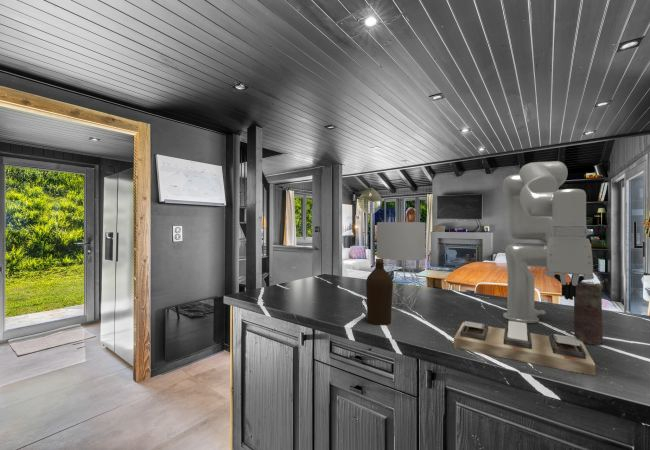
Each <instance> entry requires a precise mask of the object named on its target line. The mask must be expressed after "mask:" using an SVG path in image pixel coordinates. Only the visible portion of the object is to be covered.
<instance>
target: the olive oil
mask: <svg viewBox="0 0 650 450" xmlns="http://www.w3.org/2000/svg"><path fill="white" fill-rule="evenodd" d="M384 260H385V259H381V258H375V263H374V265H375V267H374V269H372V271H371V272H370V274H368V276H367V278H366V281H365V282H366V283H365V290H366V291H365V292H366V319H367V323H369V324H371V325H376V326H377V325H378V326H384V325H385V326H386V325H389V324H391V322H392V309H393V304H392V303H393V302H392V301H393V293H394V285H393V284H394V281H393V278H392V276H391V274H390V273H389V272H388V271H387V270H385V264H384V262H385V261H384ZM389 274H390V275H389Z"/></svg>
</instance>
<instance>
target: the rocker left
mask: <svg viewBox="0 0 650 450" xmlns="http://www.w3.org/2000/svg"><path fill="white" fill-rule="evenodd" d="M467 321H468V320H465V321H464V323H465V326H470V327H476V328H482V329H485V324H486V323H483V324H480V323H481V322H477V323H473V322H474V321H471V322H467Z"/></svg>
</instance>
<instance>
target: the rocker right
mask: <svg viewBox="0 0 650 450" xmlns="http://www.w3.org/2000/svg"><path fill="white" fill-rule="evenodd" d="M553 339H554V340H555V341H556V342H558V343H564V344H570V345H576V346H580V340H578V339H576V337H575V336H568V335H562V334H561V335H560V334H557V333H556V334H554V333H553Z"/></svg>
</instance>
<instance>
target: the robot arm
mask: <svg viewBox="0 0 650 450" xmlns="http://www.w3.org/2000/svg"><path fill="white" fill-rule="evenodd" d="M568 172H569V171H568V168H567V166H566V164H565V163H563V162H561V161H557V160H555V161H537V162H536V161H535V162H529V163H527V164H524V165H522V167H521V168H520V169H519V172H518V174H517V173H516V174H511V175H508V176H506V177H505V178H504V179H503V183H502V191H503V193H502V194H503V195H504V199H505V201H506V204H507V208H508V209H507V210H508V233H509V236H510V238H511V239H514V240H522V241H524V240H525V241H539V243H537V242H536V243H535V242H534V243H533V242H532V243H531V242H513V243H510V244H508V245H506V247H505V250H504V255H505V259H506V267H507V268H506V270H507V294H506V296H507V300H506V301H507V302H506V303H507V304H506V306H507V309H506V312H503V313H502V316H503V318H504V319H506V320H508V321H514V322H521V323H527V324H537V323H539V321H540V319H539V317H538V316H544V315H546V310H545V309H539V310H538V309H537V308H535V287H536V286H535V283H536V281H535V280H536V279H535V276H534V274H533V273H532V271H531V270H530V269H529V268H528V267H537V268H540V267H541V268H546V269H545V272H544V274H545V276H546V277H550V278H553V279H556V280H557V281H558V282H559V283H560V285H561V296H563V297H564V300H570V301H574V297H576V285H577V284H579V283H580V282H584V281H588V280H594V278H595V276H594V273H593V272H594V261H593V260H594V259H593V250H592V246H591V242H590V239H589V238H587V237H588V235H589V236H590V235H594V230H593V229H589V228H587V194H586V193H587V192H586V191H585V190H584V189H580V188H565V189H558V188H560V187H561V186H562V185H563V184H565V182H566V180H567V178H568ZM557 189H558V190H557ZM549 217H550V218H549ZM566 275H571V277H570V281H569V283H568V282H567V278H566Z"/></svg>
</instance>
